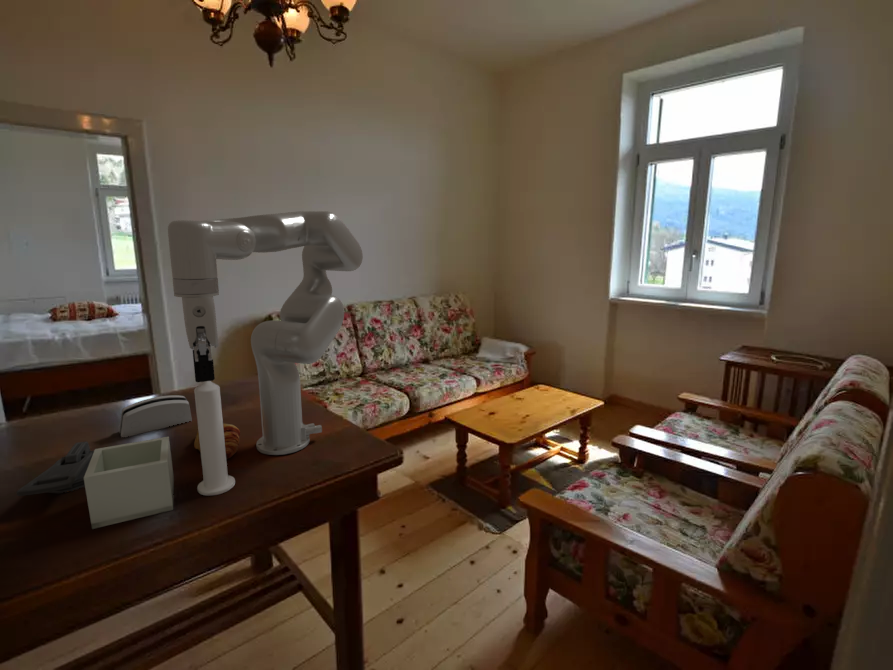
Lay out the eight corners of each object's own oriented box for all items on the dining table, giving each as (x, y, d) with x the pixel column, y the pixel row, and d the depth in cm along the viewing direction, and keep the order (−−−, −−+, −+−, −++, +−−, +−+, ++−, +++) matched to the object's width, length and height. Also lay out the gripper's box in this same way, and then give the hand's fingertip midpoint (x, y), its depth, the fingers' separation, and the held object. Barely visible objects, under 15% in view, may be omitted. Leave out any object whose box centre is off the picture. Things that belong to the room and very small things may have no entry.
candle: (209, 499, 90) (197, 379, 85) (190, 488, 94) (177, 373, 89) (242, 484, 96) (232, 370, 91) (223, 474, 100) (212, 365, 95)
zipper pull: (9, 493, 80) (57, 437, 102) (16, 527, 81) (62, 464, 103) (73, 483, 83) (106, 430, 106) (78, 515, 85) (109, 457, 107)
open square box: (173, 479, 97) (168, 436, 95) (173, 509, 87) (167, 461, 85) (102, 494, 91) (95, 449, 89) (92, 529, 81) (83, 477, 79)
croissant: (197, 448, 120) (178, 426, 116) (231, 423, 124) (214, 401, 120) (219, 479, 104) (197, 456, 100) (257, 449, 108) (238, 425, 105)
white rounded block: (187, 415, 132) (187, 387, 127) (193, 425, 129) (193, 397, 124) (117, 432, 120) (115, 401, 116) (121, 443, 117) (119, 412, 113)
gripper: (221, 291, 81) (229, 383, 84) (215, 283, 95) (221, 362, 99) (172, 293, 77) (182, 389, 80) (174, 284, 92) (182, 366, 95)
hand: (204, 374), depth 90 cm, fingers open, 9 cm apart
